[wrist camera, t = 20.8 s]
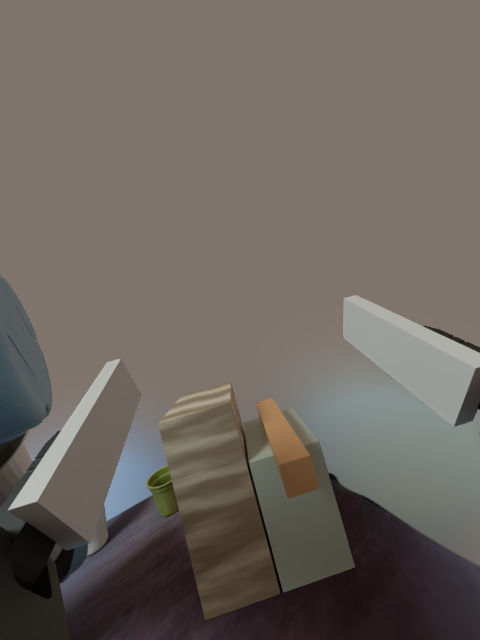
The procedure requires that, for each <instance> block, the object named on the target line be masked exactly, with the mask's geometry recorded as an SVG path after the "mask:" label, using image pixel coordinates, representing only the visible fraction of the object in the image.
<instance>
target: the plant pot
mask: <svg viewBox="0 0 480 640" xmlns="http://www.w3.org/2000/svg"><path fill="white" fill-rule="evenodd" d="M146 485H147V488H149V489H150V491H151V492H152V494H153V497H154V499H155V502H156V504H157V507H158V510H159V512H160V515H161V516H167V515H169V514H173V513H175V512H176V511H177V510H178V509H179V508H178V504H177V500H176V496H175V492H174V488H173V483H172V479H171V475H170V471H169V467H168V465H167V466H165V467H163V468H161V469H159V470H158V471H156V472H155V473H153V474H152V475H151V477H149V479H148V480H147V483H146Z"/></svg>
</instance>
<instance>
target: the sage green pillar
mask: <svg viewBox="0 0 480 640" xmlns="http://www.w3.org/2000/svg"><path fill="white" fill-rule="evenodd" d="M281 412H282V414H283V415H284V417H285V418H286V420H287V421H288V423H289V424H290V426H291V427H292V429H293V430H294V432H295V433H296V435H297V436H298V438H299V439H300V441H301V442H302V444H303V445H304V447H305V448H306V450H307V451H308V453H309V454H310V456H311V460H312V463H313V467H314V471H315V474H316V478H317V481H318V485H319V488H320V489H317V490H314V491H311V492H308V493H305V494H302V495H299V496H296V497H293V498H290V499H288V498H287V495H286V492H285V489H284V486H283V483H282V480H281V477H280V475H279V472H278V469H277V466H276V463H275V460H274V457H273V455H272V452H271V449H270V446H269V443H268V440H267V437H266V434H265V432H264V429H263V426H262V423H261V420H260V418H257V419H254V420H250V421H247V422H244V429H245V430H244V431H245V438H246V445H247V452H248V460H249V465H250V469H251V473H252V476H253V480H254V484H255V488H256V492H257V495H258V499H259V503H260V507H261V511H262V514H263V518H264V522H265V526H266V529H267V533H268V537H269V541H270V545H271V548H272V552H273V556H274V560H275V564H276V567H277V571H278V575H279V579H280V583H281V586H282V590H283V593H284V592H287V591H290V590H292V589H295V588H298V587H301V586H304V585H307V584H310V583H312V582H315V581H318V580H321V579H324V578H327V577H329V576H332V575H335V574H338V573H341V572H344V571H346V570H349V569H352V568H355V565H354V561H353V558H352V554H351V551H350V547H349V544H348V540H347V537H346V533H345V530H344V526H343V523H342V519H341V516H340V513H339V509H338V506H337V502H336V499H335V495H334V492H333V488H332V485H331V481H330V478H329V474H328V471H327V468H326V464H325V461H324V457H323V453H322V450H321V446H320V443H319V441H318V439H317V438H316V437H315V436H314V435H313V433H312V432H311V431H310V430H309V429H308V427H307V426H306V425H305V424H304V423H303V421H302V420H301V419H300V418H299V417H298V416H297V414H296V413H295V412H294V411H293V409H292V408H291V409H287V410H284V411H281Z"/></svg>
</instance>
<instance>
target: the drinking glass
mask: <svg viewBox="0 0 480 640" xmlns="http://www.w3.org/2000/svg"><path fill="white" fill-rule="evenodd" d="M107 539H108V530H107V524H106V516H105V507H104V505H103V508H102V511H101V514H100V517H99V520H98V522H97V525H96V528H95V531H94V534H93V537H92V540H91V543H89V544H88V553H87V556H89V555H92V554H94V553H95V552H97V551H98V550H99V549H100V548H102V546H103V545H104V544H105V543H106V541H107Z"/></svg>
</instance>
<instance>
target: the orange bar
mask: <svg viewBox="0 0 480 640" xmlns="http://www.w3.org/2000/svg"><path fill="white" fill-rule="evenodd" d="M256 405H257V409H258V413H259V416H260V420H261V423H262V426H263V429H264V432H265V434H266V437H267V440H268V443H269V446H270V449H271V452H272V455H273V457H274V460H275V463H276V466H277V469H278V472H279V475H280V477H281V480H282V483H283V486H284V489H285V492H286V495H287V498H288V499H290V498H293V497H296V496H299V495H302V494H305V493H308V492H311V491H314V490H317V489H320V488H319V485H318V481H317V478H316V474H315V471H314V467H313V463H312V460H311V456H310V454H309V453H308V451H307V450H306V448H305V447H304V445H303V444H302V442H301V441H300V439H299V438H298V436H297V435H296V433H295V432H294V430H293V429H292V427H291V426H290V424H289V423H288V421H287V420H286V418H285V417H284V415H283V414H282V412H281V411H280V409H279V408H278V406H277V405H276V403H275V402H274V400H273V399H272V398H270V399H267V400H264V401H260V402H256Z"/></svg>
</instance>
